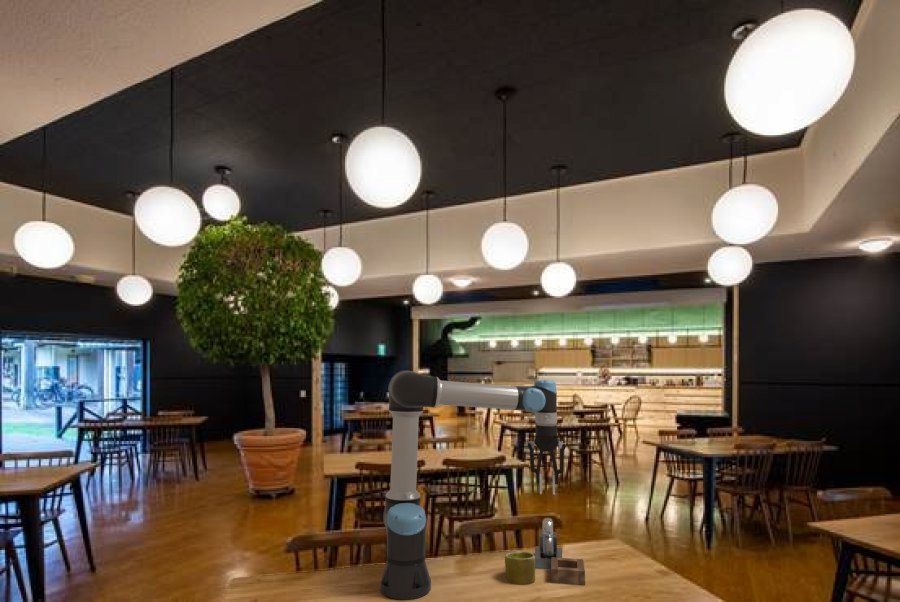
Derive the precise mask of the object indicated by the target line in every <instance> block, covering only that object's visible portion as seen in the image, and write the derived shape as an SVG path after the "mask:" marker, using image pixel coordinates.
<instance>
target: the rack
mask: <svg viewBox="0 0 900 602" xmlns="http://www.w3.org/2000/svg"><path fill="white" fill-rule="evenodd" d="M584 563H585V562H584V559H582V558H570V557H569V558H568V557H567V558H566V557H562V558H556V557H551V570H550V574H551V575H550V576H551V577H550V578H551V584H560V585H562V584H563V585H574V586H586V570H585V564H584Z"/></svg>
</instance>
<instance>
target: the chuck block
mask: <svg viewBox="0 0 900 602" xmlns="http://www.w3.org/2000/svg"><path fill="white" fill-rule="evenodd" d="M557 541H558V539H557V531H553V551H554V557H556V558H563V548H562V547H558V546H557V545H558V543H557ZM534 547H535V548H534V556H535V570H536V569H537V570H547V571H548V570H549V571H551V559H548V558H543V530H542V531H539V546H537V545H535V546H534Z"/></svg>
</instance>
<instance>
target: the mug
mask: <svg viewBox="0 0 900 602" xmlns="http://www.w3.org/2000/svg"><path fill="white" fill-rule="evenodd" d="M504 567H505V574H506V579H507V581H508V582H509V583H512V584H514V585H516V586H517V585H518V586H528V585H532V584H534V583H535V582H536V569H535V554H534V553H532V552H527V551H521V550H517V551H516V550H515V552H508V553H506V554H505V557H504Z"/></svg>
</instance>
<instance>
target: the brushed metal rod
mask: <svg viewBox="0 0 900 602" xmlns="http://www.w3.org/2000/svg"><path fill="white" fill-rule="evenodd" d="M542 531H543V558H548V559H551V557H554V551H553V532H554V521H553V519H552V520H544V519H542Z"/></svg>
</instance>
